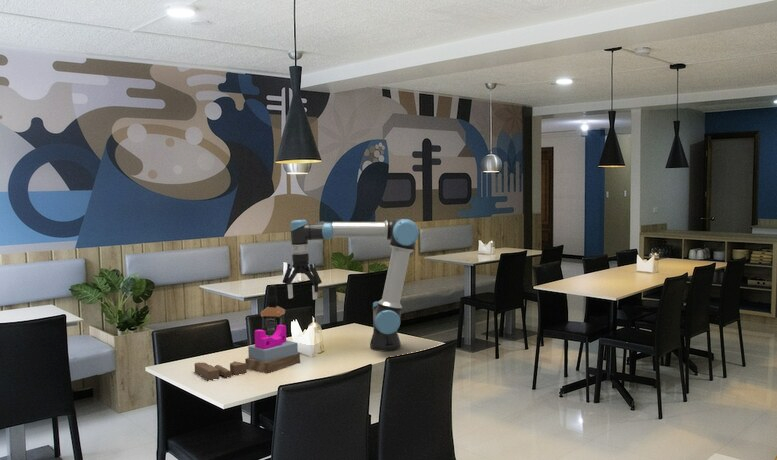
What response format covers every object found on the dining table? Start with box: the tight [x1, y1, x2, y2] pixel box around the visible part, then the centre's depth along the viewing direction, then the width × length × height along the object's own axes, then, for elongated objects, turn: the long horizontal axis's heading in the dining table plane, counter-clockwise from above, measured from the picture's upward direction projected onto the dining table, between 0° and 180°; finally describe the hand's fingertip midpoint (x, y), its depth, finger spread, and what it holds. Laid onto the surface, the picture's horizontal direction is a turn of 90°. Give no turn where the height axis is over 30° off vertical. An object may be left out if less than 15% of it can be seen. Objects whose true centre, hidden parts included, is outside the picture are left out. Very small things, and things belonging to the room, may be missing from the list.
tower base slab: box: [244, 352, 301, 374], centre depth 288 cm, size 14×20×5 cm
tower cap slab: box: [247, 339, 299, 362], centre depth 288 cm, size 12×18×5 cm, turn 137°
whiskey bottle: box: [260, 284, 286, 337], centre depth 314 cm, size 10×10×32 cm
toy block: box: [254, 324, 287, 349], centre depth 287 cm, size 15×6×8 cm, turn 141°
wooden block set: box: [194, 361, 248, 381], centre depth 278 cm, size 17×6×18 cm
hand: (302, 298), depth 300 cm, fingers open, 13 cm apart
